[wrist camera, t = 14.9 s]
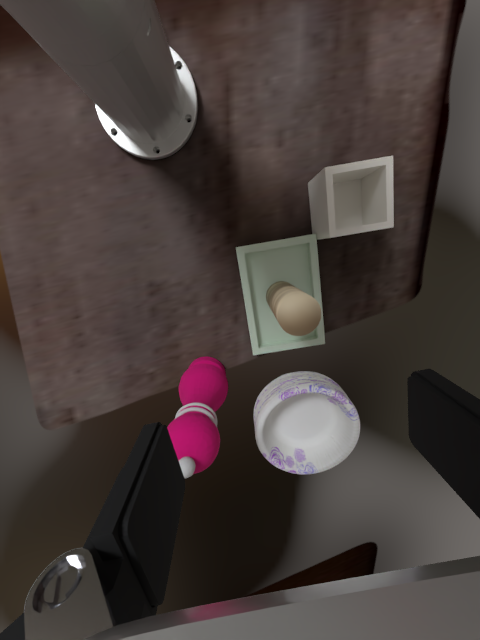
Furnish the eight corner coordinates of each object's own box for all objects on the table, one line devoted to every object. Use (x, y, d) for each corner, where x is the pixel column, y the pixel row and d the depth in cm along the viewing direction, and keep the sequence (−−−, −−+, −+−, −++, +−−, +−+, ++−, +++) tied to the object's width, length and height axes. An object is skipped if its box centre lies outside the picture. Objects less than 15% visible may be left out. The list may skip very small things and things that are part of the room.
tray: (235, 247, 38) (235, 247, 35) (310, 234, 38) (316, 233, 35) (252, 349, 42) (253, 355, 40) (320, 338, 42) (325, 343, 39)
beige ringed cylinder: (263, 284, 38) (275, 297, 26) (294, 278, 38) (319, 290, 26) (268, 313, 39) (280, 339, 28) (297, 308, 39) (323, 332, 27)
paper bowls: (252, 441, 47) (255, 479, 39) (251, 362, 43) (255, 387, 35) (336, 439, 47) (356, 476, 39) (344, 360, 43) (368, 384, 35)
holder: (307, 183, 36) (324, 167, 29) (363, 173, 36) (393, 155, 29) (312, 240, 38) (329, 238, 31) (365, 231, 38) (393, 227, 31)
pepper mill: (231, 356, 42) (229, 446, 23) (225, 395, 44) (218, 509, 25) (187, 350, 42) (146, 436, 22) (182, 390, 44) (141, 501, 24)
